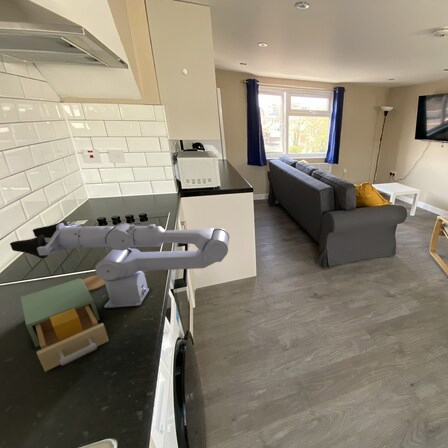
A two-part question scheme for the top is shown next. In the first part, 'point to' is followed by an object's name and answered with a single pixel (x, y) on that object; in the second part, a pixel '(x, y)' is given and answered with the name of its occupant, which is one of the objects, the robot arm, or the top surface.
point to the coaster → (93, 282)
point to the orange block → (66, 324)
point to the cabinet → (55, 304)
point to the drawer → (69, 340)
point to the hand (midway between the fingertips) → (24, 239)
